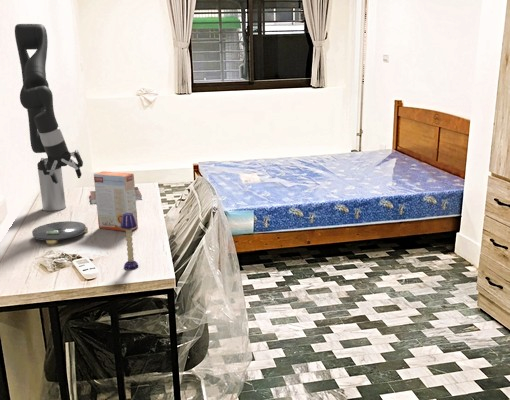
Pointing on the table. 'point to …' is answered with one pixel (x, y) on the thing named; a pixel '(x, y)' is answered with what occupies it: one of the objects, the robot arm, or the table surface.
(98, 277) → the table surface
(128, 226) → the toy lamp
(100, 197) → the cracker box
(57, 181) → the robot arm
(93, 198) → the picture frame
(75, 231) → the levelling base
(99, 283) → the table surface
